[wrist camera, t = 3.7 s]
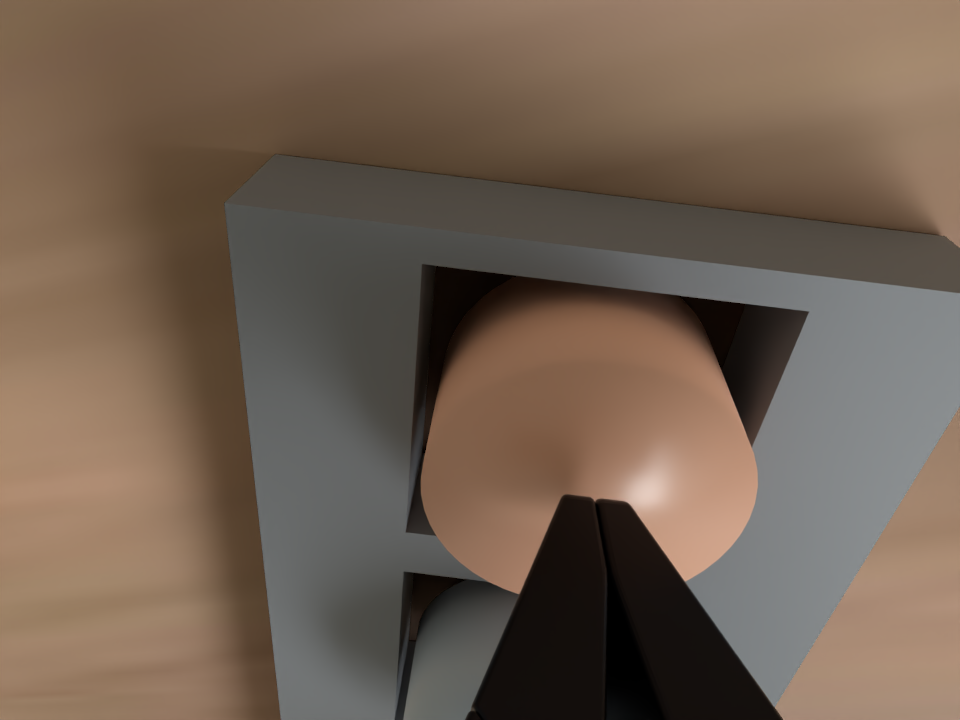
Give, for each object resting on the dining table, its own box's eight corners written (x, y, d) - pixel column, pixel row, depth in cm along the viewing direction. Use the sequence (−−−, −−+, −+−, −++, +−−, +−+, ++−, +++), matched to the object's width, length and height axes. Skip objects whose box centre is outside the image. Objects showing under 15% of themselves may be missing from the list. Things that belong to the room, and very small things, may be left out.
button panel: (653, 806, 20) (665, 900, 18) (314, 763, 20) (290, 854, 18) (945, 236, 10) (1039, 313, 8) (274, 154, 10) (214, 212, 8)
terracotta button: (674, 497, 13) (703, 621, 10) (434, 467, 13) (413, 585, 10) (751, 282, 10) (809, 385, 8) (453, 245, 10) (431, 338, 8)
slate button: (610, 714, 15) (622, 849, 13) (412, 690, 15) (392, 820, 13) (658, 587, 13) (683, 725, 11) (424, 557, 13) (401, 690, 11)
